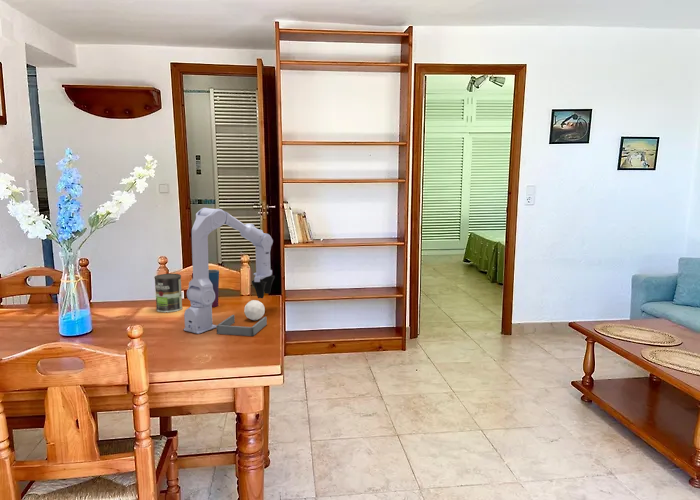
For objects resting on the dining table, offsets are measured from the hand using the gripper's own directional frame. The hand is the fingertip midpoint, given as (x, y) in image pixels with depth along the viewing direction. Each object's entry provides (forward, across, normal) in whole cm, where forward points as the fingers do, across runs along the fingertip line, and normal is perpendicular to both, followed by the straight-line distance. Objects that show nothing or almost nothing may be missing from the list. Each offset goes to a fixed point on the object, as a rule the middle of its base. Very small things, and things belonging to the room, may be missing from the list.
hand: (264, 295), depth 204 cm
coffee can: (+7, +4, -40) cm, 41 cm away
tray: (+7, +23, 0) cm, 24 cm away
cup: (+7, -4, -25) cm, 27 cm away
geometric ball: (+7, +11, 0) cm, 13 cm away
